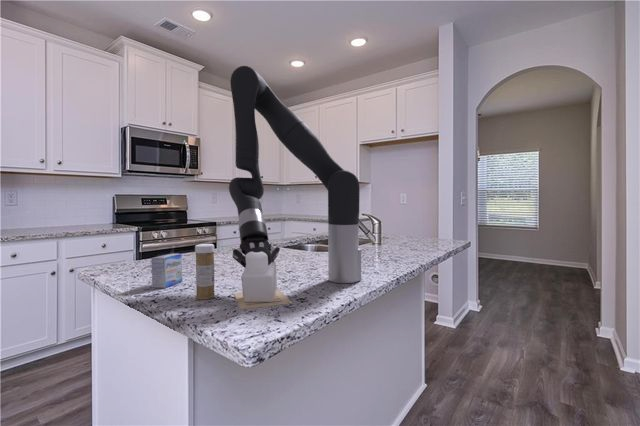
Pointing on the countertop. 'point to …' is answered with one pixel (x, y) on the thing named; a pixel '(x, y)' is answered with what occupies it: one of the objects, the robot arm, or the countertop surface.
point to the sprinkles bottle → (204, 271)
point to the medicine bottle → (259, 276)
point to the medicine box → (166, 270)
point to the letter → (278, 300)
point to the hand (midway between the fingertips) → (260, 280)
